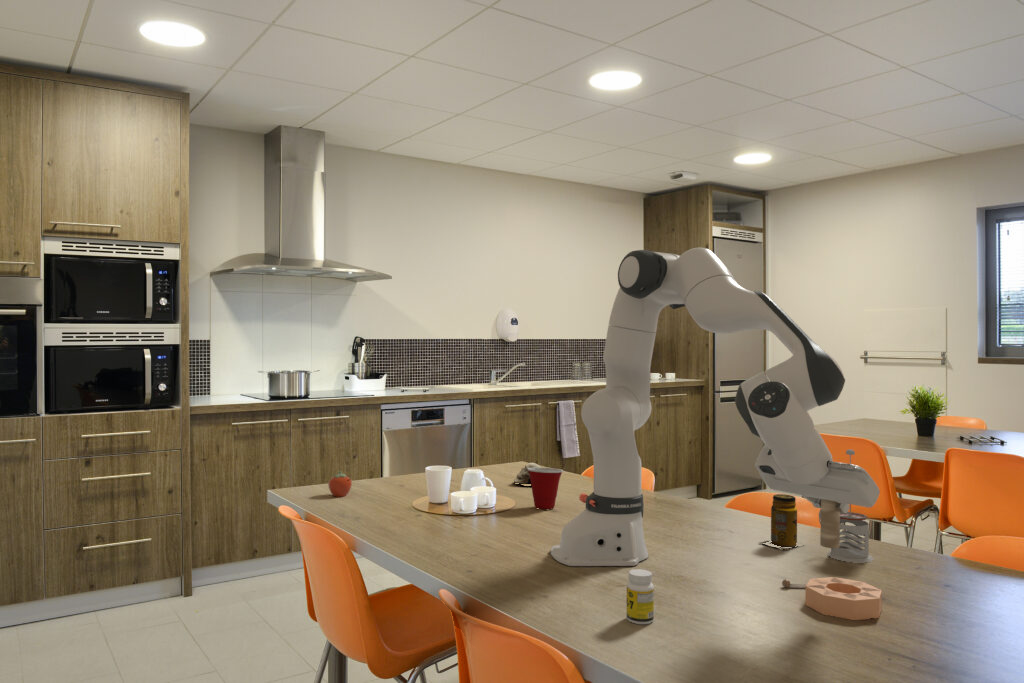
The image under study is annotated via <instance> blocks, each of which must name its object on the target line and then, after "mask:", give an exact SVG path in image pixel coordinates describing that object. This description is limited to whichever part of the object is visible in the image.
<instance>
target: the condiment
mask: <svg viewBox="0 0 1024 683" xmlns="http://www.w3.org/2000/svg"><path fill="white" fill-rule="evenodd" d="M772 499H773V500H772V505H771V507H770V540H771V541H772V542H771V543H772V544H774V545H777V546H781V547H795V546H796V545H797V544H798V508H797V507H796V505H797V504H796V496H793V495H791V494H783V493H781V494H779V493H778V494H774V495H772ZM770 540H764V541H759V542H757V543H758V544H760V545H762V544H763V543H766V542H769V541H770ZM796 543H797V544H796ZM781 547H780V548H781ZM783 549H785V550H783ZM786 549H787V550H791V549H792V548H790V549H789V548H781V549H779V550H780V551H786Z"/></svg>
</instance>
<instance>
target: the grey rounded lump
mask: <svg viewBox="0 0 1024 683" xmlns="http://www.w3.org/2000/svg"><path fill="white" fill-rule="evenodd" d="M533 467H541V466H540V465H539V464H537V463H535V462H529V463H527V464H525V465H524V467H522V468H521V470H520V471H519V472H518V473H517V474H516V477H515V479H514V480H513V481H514V483H519V484H531V479H530V475H529V471H528V469H527V468H533ZM514 483H513V484H514Z"/></svg>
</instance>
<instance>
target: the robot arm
mask: <svg viewBox="0 0 1024 683" xmlns="http://www.w3.org/2000/svg"><path fill="white" fill-rule="evenodd" d="M617 282H618V286H619V288H618V290H617V293H616V296H615V297H614V302H613V305H612V308H611V311H610V316H609V320H608V326H607V330H606V337H605V338H606V339H605V344H604V349H603V350H604V351H603V355H602V358H603V363H604V367H605V377H606V378H605V380H606V381H605V388H600V389H598V390H596V391H595V392H594V393H592V394H590V395H589V396H588V397H587V398H586V400H584V402H583V404H582V407H581V413H580V414H581V420H582V423H583V424H584V426H585V428H586V429H587V432H588V437H589V442H590V446H591V452H592V460H593V492H592V493H590V494H589V495H588V494H586V492H585V493H584V492H582V493H580V495H579V497H578V500H580V502H582V503H583V504H585V509H583V511H581V512H580V513H579V514H578V515H576V516H575V517H574V518H573V519H571V520H570V521H569V522H567V524H565V525H564V526H563V528H562V530H561V534H560V535H561V536H560V539H559V540H560V541H559V544H556V545H552V547H551V548H550V556H551V557H552V559H554V560H556V561H557V562H558V563H561V564H563V565H565V566H569V567H631V566H632V567H634V566H636V565H638V564H639V562H641V561H644V560H646V559H647V558H649V552H648V550H647V549H648V548H647V546H646V545H647V544H646V541H645V540H646V539H645V533H644V527H643V526H644V525H643V518H644V509H645V508H644V506H645V505H644V503H645V502H644V494H643V493H642V472H643V471H642V469H643V468H642V459H641V456H640V455H639V452H638V447H637V443H636V437H635V431H636V430H639V429H640V428H642V427H643V426H644V424H646V423H647V422H648V420H649V418H650V416H651V414H652V410H653V409H652V402H651V365H652V358H653V355H654V354H653V353H654V347H655V341H656V337H657V336H656V335H657V330H658V322H659V316H660V314H661V312H662V310H663V309H664V308H666V307H667V306H670V308H671V309H673V310H675V309H676V310H677V309H680V308H683V307H685V308H686V310H687V312H688V314H689V315H690V316H691V318H692V319H693V321H694V322H695V323H696V324H697V326H698V327H700V328H701V329H702V330H705V331H707V332H711V333H714V334H725V335H726V334H732V333H738V332H744V331H750V330H765V331H768V332H770V333H772V334H773V335H775V337H776V338H777V339H778V340H779V341H780V342H781V343H782V344H783V345H784V347H786V348H787V350H788V351H789V352H790V353H791V354H792V356H791V357H789V358H787V359H786V360H784V361H782V362H780V363H779V364H777V365H774V366H772V367H770V368H769V369H765V370H764V371H761V372H759V373H757V374H755V375H753V376H751V377H749V378H748V379H746V380H744V381H742V383H740V384H739V385H738V388H737V390H736V394H735V397H734V404H735V405H736V406H735V407H736V408H737V411H738V413H739V415H740V416H741V418H742V419H743V421H744V422H745V424H746V425H747V427H748V428H749V430H750V433H751V434H752V435H754V436H756V437H758V438H760V439H761V440H762V442H763V443H764V445H763V447H762V448H761V449H760V450H761V451H760V452H759V454H758V456H757V458H756V459H755V463H754V467H755V469H756V470H757V471H758V473H759V476H760V477H761V479H762V481H763V483H764V484H765V485H766V486H767V487H768V488H769V489H770V490H774V491H776V492H777V491H778V492H783V493H789V494H795V495H798V496H801V497H802V498H804V499H805V500H807V501H808V502H809V503H811V504H812V506H813V508H816V509H821V499H825V500H830V501H836V502H837V503H838V504H836V506H835V508H836V509H837V510H838V512H841V513H847V512H849V511H850V504H851V506H852V505H853V506H859V507H864V508H872V507H874V506H875V504H876V503H877V501H878V498H879V497H880V496H879V495H880V491H881V490H880V488H879V486H878V484H877V483H876V482H875V480H874V479H873V478H872V476H871V475H870V474H869V472H867V470H866V469H865V468H864V467H861V466H859V465H856V464H852V463H851V464H850V463H846V462H840V461H839V462H838V461H833V455H832V453H831V452H830V450H829V448H828V446H827V444H826V442H825V440H824V439H823V437H822V435H821V433H819V431H818V430H816V429H815V425H814V421H813V418H812V417H811V416H810V413H809V412H808V411H810V410H814V409H815V408H816V407H821V406H824V405H827V404H830V403H833V402H834V401H837V400H838V399H839V397H840V396H841V393H842V391H843V389H844V387H845V383H846V379H845V376H844V373H843V371H842V368H841V367H840V365H839V363H838V362H837V361H836V360H835V359H834V358H833V357H832V356H831V355H830V354H829V353H828V352H826V351H825V350H823V348H821V347H820V346H819V345H818V344H817V343H816V342H815V341H814V340H812V338H811V337H810V336H809V335H808V334H807V333H806V332H805V331H804V330H803V329H802V328H801V327H800V326H799V325H798V324H797V323H796V322H795V321H794V319H792V318H791V317H790V316H789V315H788V314H787V313H786V312H785V311H784V310H783V309H782V307H780V306H779V305H778V303H777V302H775V301H774V300H773V299H772V297H770V296H769V295H767V294H766V293H764V292H762V291H761V290H759V291H758V290H754V291H752V290H749V289H746V288H744V287H742V286H741V285H740V284H738V282H737V280H736V279H735V277H734V276H733V274H732V272H731V271H730V270H729V268H728V267H727V266H726V264H724V262H723V261H722V260H721V259H720V258H719V257H718V255H717V254H715V253H714V252H713V251H712V250H710V249H709V248H706V247H699V246H698V247H694V248H690V249H688V250H686V251H684V252H682V253H681V254H680V255H679V254H675V253H672V252H668V253H666V252H661V251H660V252H659V251H652V250H649V249H638V250H632V251H629V252H628V253H627V254H626V255H625V256H624V257H623V259H622V260H621V262H620V264H619V266H618V270H617Z"/></svg>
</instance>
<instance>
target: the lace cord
mask: <svg viewBox="0 0 1024 683" xmlns="http://www.w3.org/2000/svg"><path fill="white" fill-rule="evenodd" d="M781 585H782V586H783V587H784V588H792V589H793V588H795V589H797V588H798V589H806V585H807V583H791V581H790V580H789V579H786V578H785V579H783V580H782V582H781Z"/></svg>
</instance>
